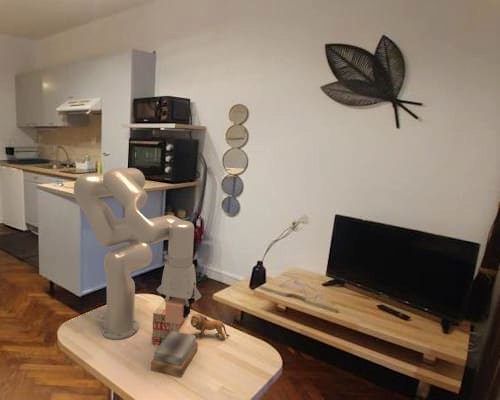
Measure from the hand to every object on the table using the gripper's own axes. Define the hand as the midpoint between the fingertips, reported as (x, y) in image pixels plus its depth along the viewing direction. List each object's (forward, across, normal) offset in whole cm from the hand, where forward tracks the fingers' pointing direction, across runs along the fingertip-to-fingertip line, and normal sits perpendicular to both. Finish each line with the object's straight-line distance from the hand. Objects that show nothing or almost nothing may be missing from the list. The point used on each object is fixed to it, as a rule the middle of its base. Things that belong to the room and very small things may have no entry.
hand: (177, 313), depth 107 cm
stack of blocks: (+17, -9, +16) cm, 25 cm away
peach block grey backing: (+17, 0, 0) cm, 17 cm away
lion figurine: (+17, +6, +16) cm, 24 cm away
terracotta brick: (+1, 0, 0) cm, 1 cm away
